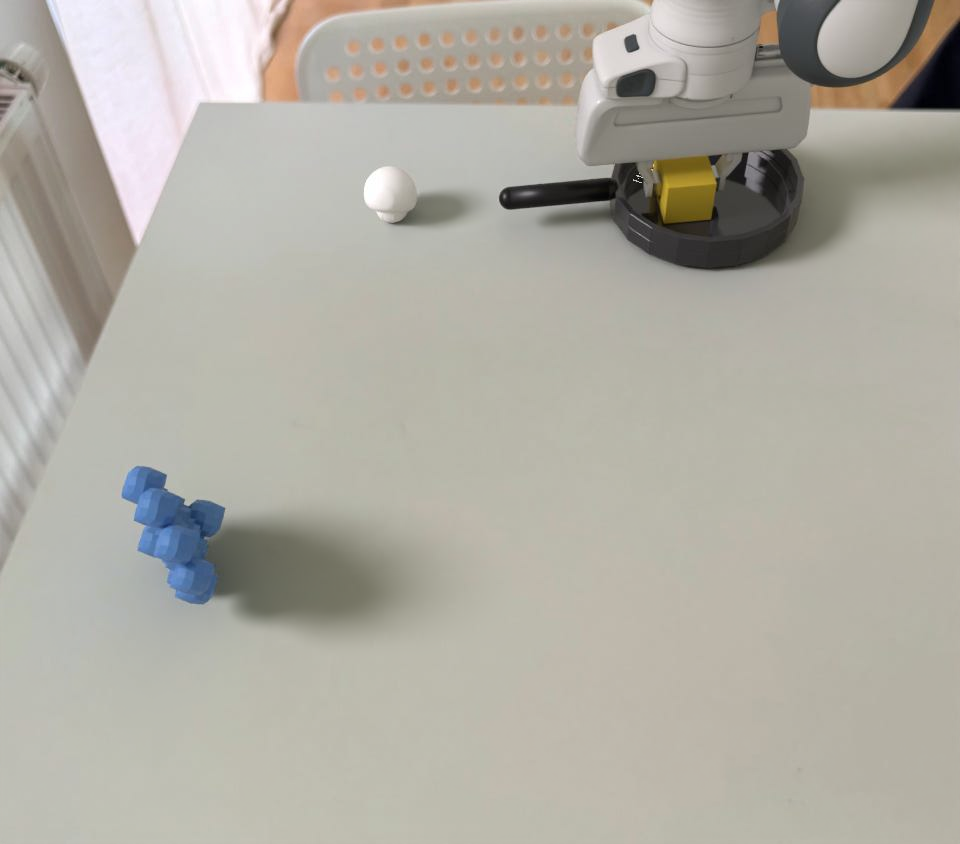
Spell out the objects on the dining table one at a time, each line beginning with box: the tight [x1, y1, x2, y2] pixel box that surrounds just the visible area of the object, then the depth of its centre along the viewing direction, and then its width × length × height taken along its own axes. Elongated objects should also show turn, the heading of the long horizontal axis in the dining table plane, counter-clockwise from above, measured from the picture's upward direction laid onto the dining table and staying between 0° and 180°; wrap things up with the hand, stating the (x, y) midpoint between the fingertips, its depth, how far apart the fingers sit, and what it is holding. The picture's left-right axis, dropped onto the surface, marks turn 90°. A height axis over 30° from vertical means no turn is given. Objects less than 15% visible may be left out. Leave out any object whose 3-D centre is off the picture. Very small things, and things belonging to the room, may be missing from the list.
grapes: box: [121, 465, 226, 605], centre depth 78 cm, size 12×7×12 cm, turn 31°
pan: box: [609, 149, 805, 269], centre depth 102 cm, size 17×17×4 cm
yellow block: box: [653, 156, 717, 224], centre depth 102 cm, size 4×6×4 cm
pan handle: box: [498, 177, 619, 211], centre depth 101 cm, size 11×2×2 cm, turn 95°
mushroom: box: [363, 165, 418, 224], centre depth 103 cm, size 5×5×5 cm
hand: (682, 190), depth 102 cm, fingers closed on yellow block, 4 cm apart
